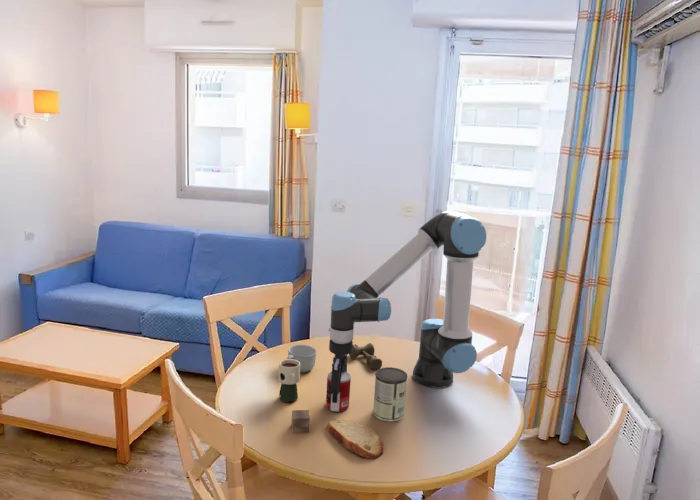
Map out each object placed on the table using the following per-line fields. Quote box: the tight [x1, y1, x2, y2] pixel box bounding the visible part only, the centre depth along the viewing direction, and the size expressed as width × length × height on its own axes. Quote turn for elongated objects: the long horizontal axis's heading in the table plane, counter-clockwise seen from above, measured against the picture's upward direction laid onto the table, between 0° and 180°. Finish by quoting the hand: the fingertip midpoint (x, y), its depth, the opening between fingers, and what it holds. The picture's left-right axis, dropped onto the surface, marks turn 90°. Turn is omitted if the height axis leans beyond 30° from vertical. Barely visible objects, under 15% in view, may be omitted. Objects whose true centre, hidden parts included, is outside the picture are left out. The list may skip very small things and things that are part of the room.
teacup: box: [286, 344, 318, 373], centre depth 210 cm, size 14×11×8 cm
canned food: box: [325, 371, 352, 413], centre depth 184 cm, size 8×8×11 cm
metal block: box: [291, 409, 311, 434], centre depth 169 cm, size 5×5×5 cm
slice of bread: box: [325, 419, 384, 460], centre depth 165 cm, size 18×18×4 cm
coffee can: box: [372, 366, 408, 422], centre depth 180 cm, size 10×10×14 cm
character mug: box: [277, 358, 301, 403], centre depth 186 cm, size 11×7×13 cm, turn 22°
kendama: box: [348, 342, 383, 371], centre depth 222 cm, size 6×10×20 cm
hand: (337, 404), depth 185 cm, fingers closed on canned food, 8 cm apart
